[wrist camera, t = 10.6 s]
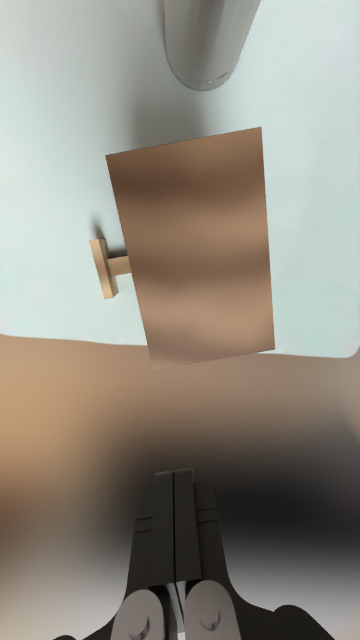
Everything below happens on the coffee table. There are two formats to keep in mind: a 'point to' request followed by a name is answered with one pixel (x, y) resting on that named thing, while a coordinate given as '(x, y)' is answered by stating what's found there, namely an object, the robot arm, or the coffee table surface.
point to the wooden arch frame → (198, 245)
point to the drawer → (108, 267)
